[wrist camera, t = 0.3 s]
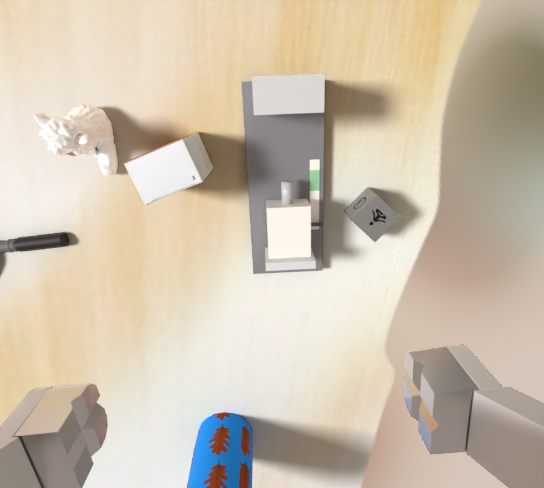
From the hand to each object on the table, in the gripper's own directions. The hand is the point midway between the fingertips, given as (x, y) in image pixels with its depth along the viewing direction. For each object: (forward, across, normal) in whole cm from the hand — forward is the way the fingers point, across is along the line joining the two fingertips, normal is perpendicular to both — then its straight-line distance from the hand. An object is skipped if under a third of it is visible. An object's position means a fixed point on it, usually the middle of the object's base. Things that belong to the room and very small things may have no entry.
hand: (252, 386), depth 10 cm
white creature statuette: (+47, +23, -6) cm, 52 cm away
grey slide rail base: (+47, -4, +4) cm, 47 cm away
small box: (+47, +11, -1) cm, 48 cm away
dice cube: (+47, -16, +10) cm, 51 cm away
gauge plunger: (+45, -4, +9) cm, 46 cm away
